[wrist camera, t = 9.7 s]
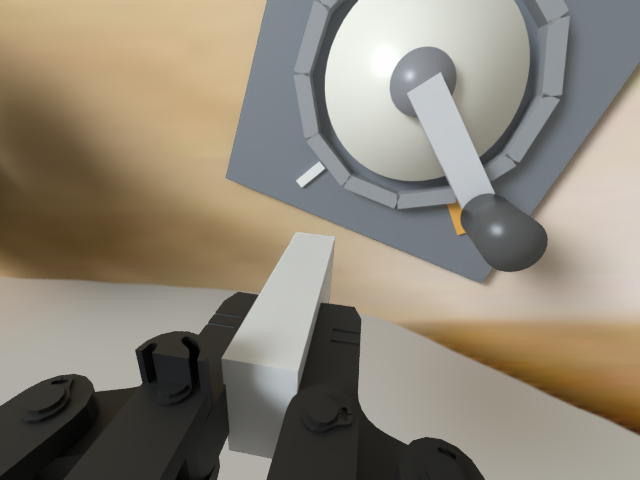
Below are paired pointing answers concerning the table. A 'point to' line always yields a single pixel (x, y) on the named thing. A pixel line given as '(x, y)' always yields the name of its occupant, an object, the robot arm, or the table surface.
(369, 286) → the table surface
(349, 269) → the table surface
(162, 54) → the table surface
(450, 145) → the dial
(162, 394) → the robot arm
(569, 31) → the panel
